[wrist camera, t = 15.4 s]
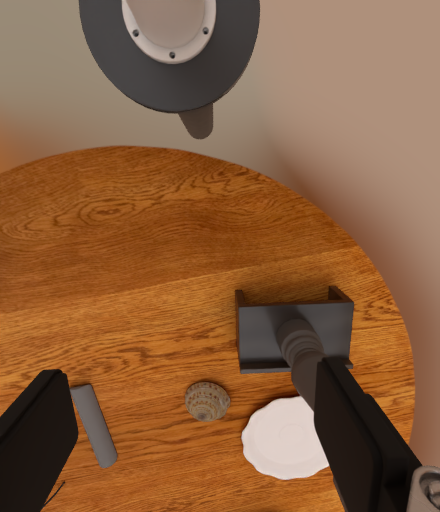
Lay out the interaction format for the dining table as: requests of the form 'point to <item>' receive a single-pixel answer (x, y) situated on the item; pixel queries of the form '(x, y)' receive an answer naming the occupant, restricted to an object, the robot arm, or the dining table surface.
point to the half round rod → (94, 424)
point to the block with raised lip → (275, 314)
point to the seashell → (206, 401)
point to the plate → (284, 440)
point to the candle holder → (302, 360)
